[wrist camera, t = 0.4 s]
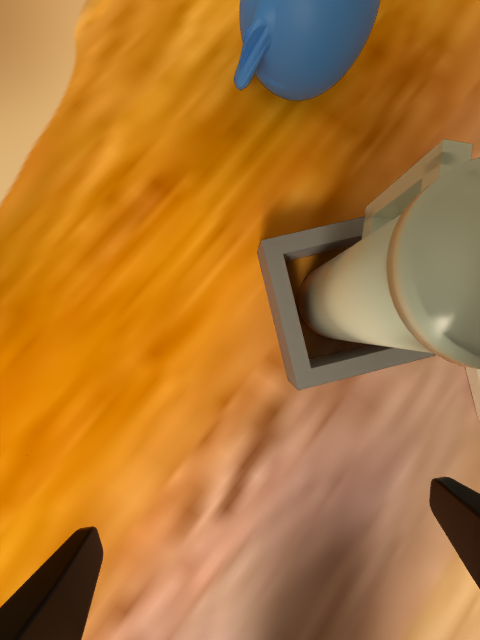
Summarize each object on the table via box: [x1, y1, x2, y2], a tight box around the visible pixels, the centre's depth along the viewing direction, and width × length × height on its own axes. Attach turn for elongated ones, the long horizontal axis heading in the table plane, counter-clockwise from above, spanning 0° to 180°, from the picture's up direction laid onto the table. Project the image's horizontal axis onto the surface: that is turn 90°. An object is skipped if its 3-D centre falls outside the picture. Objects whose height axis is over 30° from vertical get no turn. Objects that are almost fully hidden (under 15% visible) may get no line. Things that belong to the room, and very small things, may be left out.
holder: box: [257, 212, 435, 390], centre depth 19 cm, size 10×10×3 cm
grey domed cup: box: [298, 139, 480, 369], centre depth 14 cm, size 9×7×13 cm
